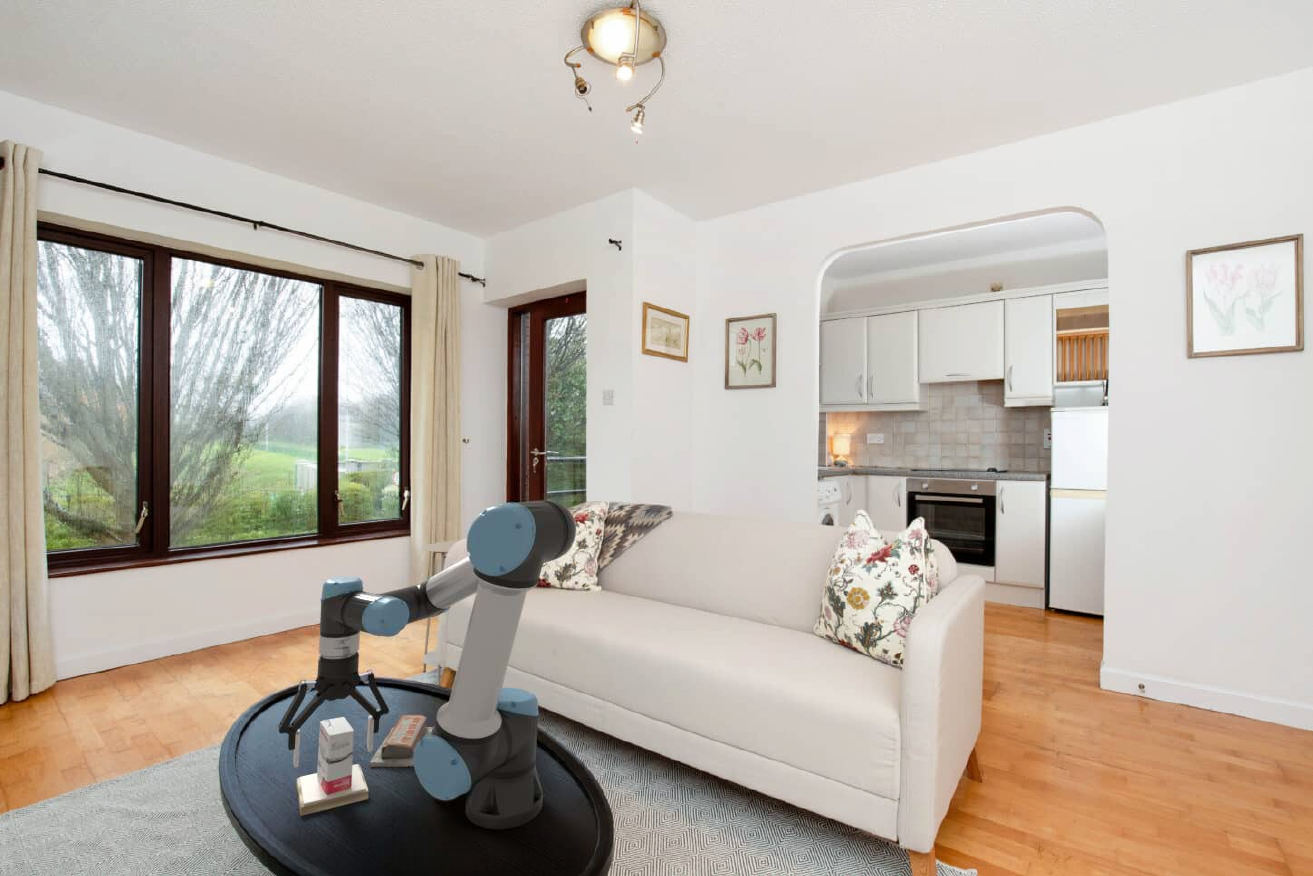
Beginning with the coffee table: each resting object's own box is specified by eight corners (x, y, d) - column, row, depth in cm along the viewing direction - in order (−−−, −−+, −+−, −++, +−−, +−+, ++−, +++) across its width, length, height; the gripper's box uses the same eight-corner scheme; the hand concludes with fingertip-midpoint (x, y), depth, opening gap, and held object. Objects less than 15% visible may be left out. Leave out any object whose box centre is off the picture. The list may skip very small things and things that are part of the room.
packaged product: (393, 712, 157) (434, 712, 158) (392, 732, 157) (433, 731, 158) (369, 747, 139) (416, 747, 140) (368, 769, 139) (415, 768, 140)
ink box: (352, 787, 127) (355, 729, 127) (325, 795, 124) (328, 736, 124) (341, 770, 133) (344, 714, 134) (315, 777, 130) (318, 720, 130)
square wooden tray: (368, 798, 127) (368, 789, 127) (300, 816, 120) (301, 805, 120) (359, 771, 137) (359, 762, 137) (296, 786, 130) (297, 776, 130)
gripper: (268, 668, 119) (262, 780, 118) (406, 650, 132) (401, 750, 132) (267, 656, 125) (262, 762, 125) (399, 640, 139) (394, 735, 138)
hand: (333, 756), depth 128 cm, fingers open, 13 cm apart
